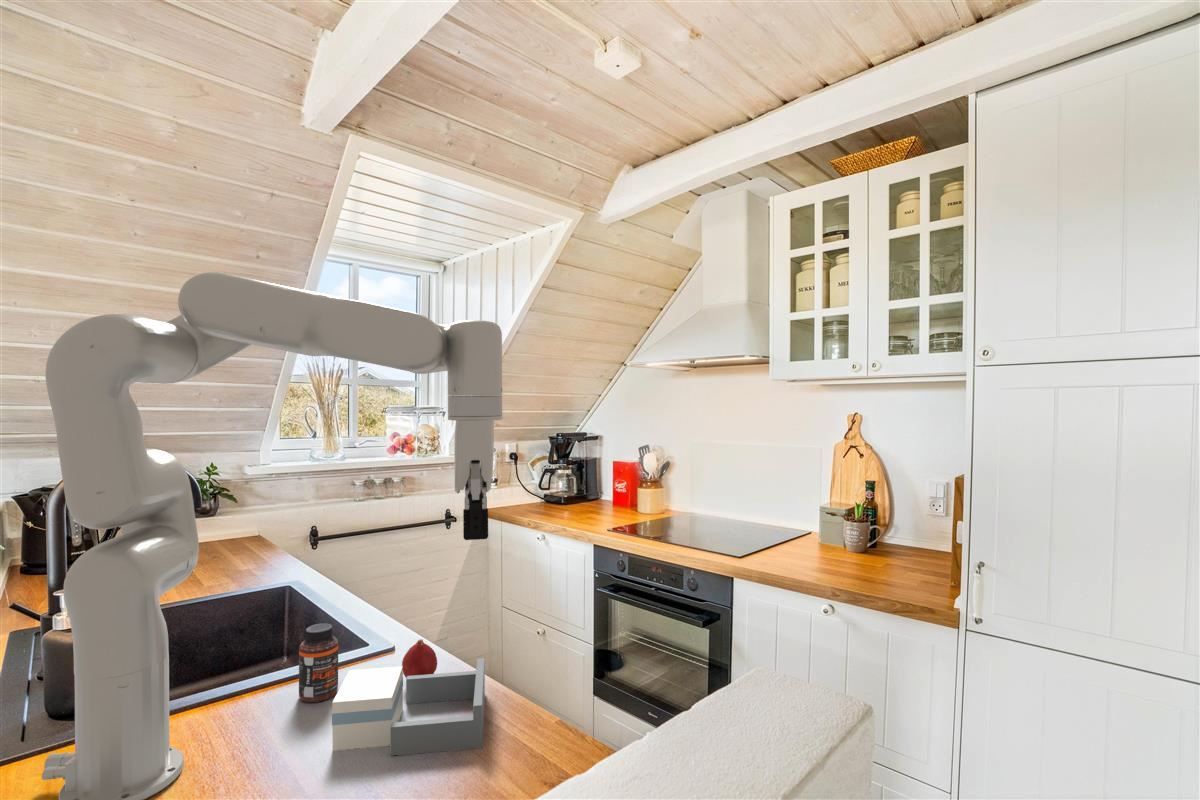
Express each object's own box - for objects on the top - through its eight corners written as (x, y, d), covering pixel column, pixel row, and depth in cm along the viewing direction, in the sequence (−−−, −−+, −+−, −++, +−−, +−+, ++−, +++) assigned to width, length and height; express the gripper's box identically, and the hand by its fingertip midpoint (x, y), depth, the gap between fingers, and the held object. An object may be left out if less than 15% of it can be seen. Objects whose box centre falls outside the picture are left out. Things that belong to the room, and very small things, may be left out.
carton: (332, 752, 84) (331, 702, 84) (349, 714, 94) (349, 670, 94) (392, 746, 86) (392, 697, 86) (403, 709, 96) (403, 666, 96)
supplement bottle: (312, 708, 96) (312, 637, 96) (291, 698, 99) (290, 629, 99) (346, 692, 101) (345, 625, 101) (324, 683, 104) (324, 618, 104)
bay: (390, 756, 83) (390, 712, 83) (407, 700, 98) (407, 663, 98) (482, 747, 85) (481, 705, 85) (484, 694, 100) (484, 658, 100)
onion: (396, 684, 104) (396, 638, 104) (427, 674, 108) (427, 629, 108) (411, 697, 99) (411, 648, 99) (443, 685, 103) (443, 639, 103)
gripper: (450, 408, 92) (450, 519, 92) (444, 411, 75) (445, 547, 76) (499, 407, 94) (500, 517, 94) (505, 410, 77) (505, 544, 77)
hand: (475, 530), depth 85 cm, fingers open, 9 cm apart
